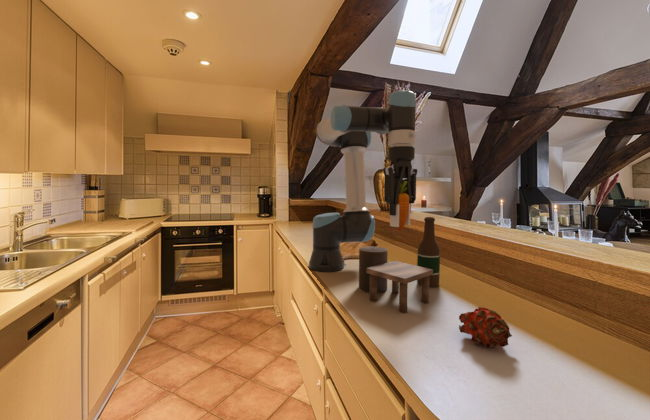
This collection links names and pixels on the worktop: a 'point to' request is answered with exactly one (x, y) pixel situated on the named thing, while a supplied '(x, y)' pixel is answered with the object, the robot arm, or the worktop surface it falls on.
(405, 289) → the walnut stool
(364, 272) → the pillar candle
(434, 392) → the worktop surface
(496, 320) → the dragon fruit
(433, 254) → the beer bottle
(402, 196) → the carrot
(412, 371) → the worktop surface
